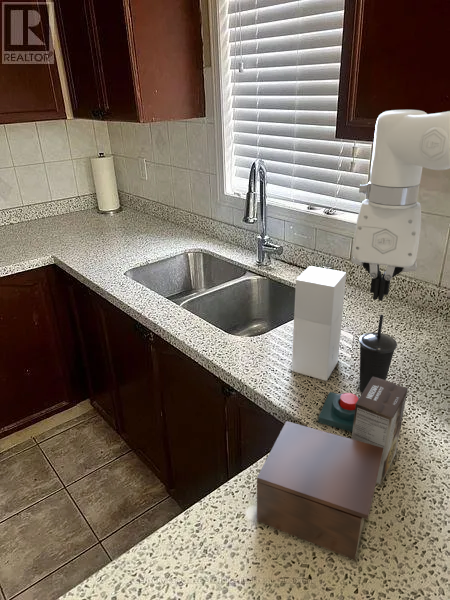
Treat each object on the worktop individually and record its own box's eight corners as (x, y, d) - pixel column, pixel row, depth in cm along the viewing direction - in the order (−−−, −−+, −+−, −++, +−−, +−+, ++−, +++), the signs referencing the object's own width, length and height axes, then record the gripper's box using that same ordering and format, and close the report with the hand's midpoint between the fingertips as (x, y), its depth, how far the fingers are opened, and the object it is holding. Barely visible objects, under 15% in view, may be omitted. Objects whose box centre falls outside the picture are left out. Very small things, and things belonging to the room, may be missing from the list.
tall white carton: (326, 383, 104) (334, 287, 93) (291, 373, 108) (295, 279, 97) (337, 364, 111) (347, 272, 100) (304, 355, 115) (309, 265, 104)
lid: (383, 451, 72) (383, 447, 72) (367, 519, 61) (368, 515, 61) (286, 424, 79) (286, 420, 78) (256, 481, 68) (256, 477, 68)
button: (359, 401, 93) (360, 395, 92) (355, 412, 90) (356, 405, 89) (341, 397, 94) (342, 390, 93) (337, 407, 91) (338, 401, 91)
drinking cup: (382, 408, 96) (396, 328, 87) (348, 396, 100) (357, 318, 91) (392, 389, 102) (405, 312, 93) (359, 378, 106) (368, 303, 97)
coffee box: (363, 441, 88) (372, 374, 80) (396, 455, 84) (409, 386, 77) (345, 472, 81) (354, 402, 74) (380, 488, 78) (393, 417, 70)
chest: (370, 493, 77) (377, 451, 72) (354, 563, 66) (361, 519, 62) (284, 464, 83) (286, 424, 79) (256, 524, 72) (256, 481, 68)
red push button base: (375, 411, 95) (377, 396, 94) (367, 439, 88) (369, 424, 86) (328, 399, 99) (330, 384, 98) (317, 425, 92) (319, 410, 90)
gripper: (340, 196, 71) (331, 298, 79) (442, 203, 65) (422, 314, 73) (350, 186, 77) (341, 282, 85) (445, 192, 71) (425, 295, 79)
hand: (378, 296), depth 79 cm, fingers closed
